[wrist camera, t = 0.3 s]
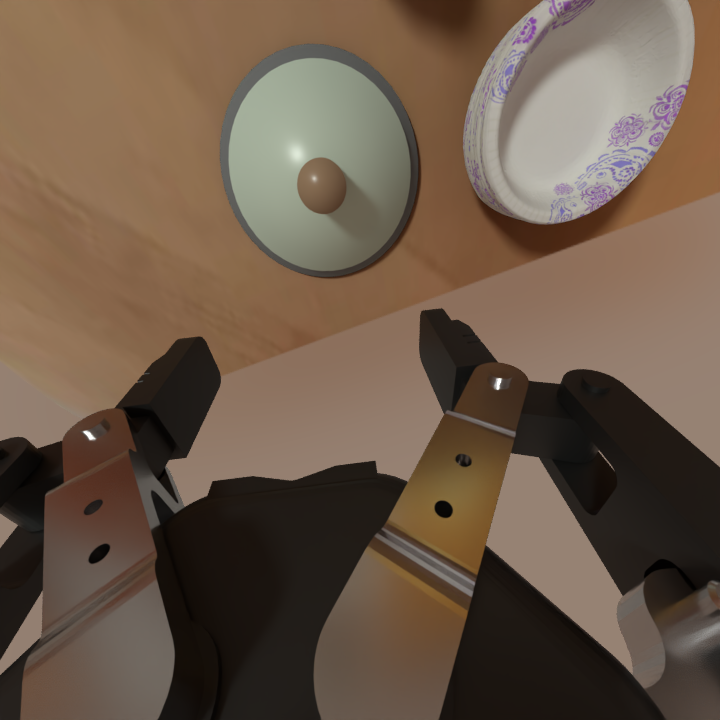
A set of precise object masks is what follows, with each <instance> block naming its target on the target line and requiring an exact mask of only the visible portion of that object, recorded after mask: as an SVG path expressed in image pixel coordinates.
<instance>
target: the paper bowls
mask: <svg viewBox="0 0 720 720" xmlns="http://www.w3.org/2000/svg"><path fill="white" fill-rule="evenodd" d="M694 42H695V40H694V21H693V16H692V12H691V7H690V5H689V2H688V0H544V1H542V2H541V3H540V4H539V5H537V6H536V7H535V8H533V9H532V10H531V11H530V12H528V13H527V15H525V16H524V17H523V18H522V19H521V20H520V21H519V22H518V23H517V24H516V25H515V26H514V27H513V28H512V29H511V30H510V31H509V32H508V33H507V34H506V36H505V37H504V38H503V39H502V40H501V42H500V43H499V44H498V46H497V47H496V48H495V50H494V51H493V53H492V55H491V56H490V58H489V59H488V61H487V63H486V65H485V67H484V68H483V70H482V73H481V75H480V77H479V79H478V81H477V84H476V86H475V88H474V91H473V93H472V96H471V99H470V103H469V106H468V111H467V115H466V120H465V125H464V136H463V144H464V145H463V150H464V158H465V165H466V169H467V173H468V176H469V179H470V181H471V184H472V186H473V188H474V190H475V192H476V193H477V195H478V197H479V198H480V199H481V200H482V201H483V202H484V203H485V204H486V205H488V206H489V207H490V208H492V209H493V210H495V211H497V212H499V213H501V214H504V215H506V216H509V217H512V218H515V219H518V220H523V221H526V222H529V223H535V224H545V225H548V224H557V223H563V222H567V221H571V220H574V219H577V218H580V217H582V216H584V215H587V214H589V213H591V212H593V211H595V210H596V209H598V208H600V207H601V206H603V205H604V204H606V203H607V202H609V201H610V200H611V199H613V198H614V197H615V196H616V195H618V194H619V193H620V192H621V191H622V190H623V189H625V188H626V187H627V186H628V185H629V184H630V183H631V182H632V181H633V180H634V179H635V178H636V177H637V176H638V174H639V173H640V172H641V171H642V170H643V169H644V168H645V166H646V165H647V164H648V163H649V161H650V160H651V159H652V157H653V156H654V155H655V153H656V152H657V150H658V149H659V147H660V146H661V144H662V143H663V141H664V139H665V137H666V136H667V134H668V132H669V130H670V128H671V126H672V125H673V123H674V121H675V119H676V116H677V114H678V112H679V110H680V108H681V104H682V102H683V100H684V97H685V94H686V90H687V87H688V83H689V80H690V76H691V71H692V66H693V57H694Z"/></svg>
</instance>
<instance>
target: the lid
mask: <svg viewBox="0 0 720 720" xmlns="http://www.w3.org/2000/svg"><path fill="white" fill-rule="evenodd" d="M229 172H230V179H231V184H232V189H233V192H234V195H235V198H236V201H237V204H238V206H239V208H240V210H241V213H242V215H243V217H244V218H245V220H246V222H247V223H248V225H249V227H250V228H251V229H252V231H253V232H254V233H255V235H256V236H257V237H258V238H259V239H260V240H261V241H262V243H263V244H264V245H265V246H267V247H268V248H269V249H270V250H271V251H272V252H273V253H275V254H276V255H278V256H279V257H281V258H282V259H284V260H286V261H288V262H290V263H292V264H294V265H297V266H300V267H302V268H306V269H310V270H317V271H335V270H342V269H345V268H349V267H352V266H354V265H357V264H359V263H361V262H363V261H365V260H366V259H368V258H370V257H371V256H372V255H373V254H375V253H376V252H377V251H378V250H379V249H380V248H381V247H382V246H383V245H384V244H385V243H386V242H387V241H388V240H389V238H390V237H391V236H392V234H393V233H394V231H395V229H396V228H397V226H398V224H399V222H400V220H401V217H402V215H403V213H404V210H405V206H406V203H407V199H408V194H409V189H410V178H411V169H410V156H409V148H408V144H407V140H406V136H405V133H404V130H403V128H402V125H401V122H400V120H399V118H398V116H397V114H396V112H395V110H394V108H393V107H392V105H391V104H390V102H389V101H388V100H387V98H386V97H385V95H384V94H383V93H382V92H381V91H380V90H379V89H378V87H377V86H376V85H375V84H374V83H373V82H371V81H370V80H369V79H368V78H367V77H365V76H364V75H363V74H361V73H360V72H358V71H356V70H355V69H353V68H351V67H349V66H347V65H344V64H342V63H339V62H337V61H332V60H328V59H322V58H306V59H299V60H294V61H291V62H288V63H285V64H282V65H280V66H279V67H277V68H275V69H273V70H271V71H270V72H268V73H267V74H266V75H265V76H264V77H262V78H261V79H260V80H259V81H258V82H257V83H256V84H255V85H254V86H253V88H252V89H251V90H250V91H249V92H248V94H247V95H246V97H245V99H244V100H243V102H242V103H241V105H240V108H239V110H238V112H237V115H236V117H235V120H234V124H233V127H232V131H231V136H230V143H229Z"/></svg>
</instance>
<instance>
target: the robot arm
mask: <svg viewBox="0 0 720 720" xmlns="http://www.w3.org/2000/svg"><path fill="white" fill-rule="evenodd" d="M419 341H420V342H419V351H420V358H421V362H422V364H423V367H424V369H425V371H426V373H427V376H428V378H429V380H430V383H431V385H432V387H433V390H434V392H435V394H436V396H437V399H438V401H439V403H440V406H441V408H442V411H443V413H444V416H443V418H442V419H441V421H440V423H439V425H438V427H437V429H436V431H435V433H434V435H433V437H432V438H431V440H430V442H429V444H428V446H427V447H426V449H425V451H424V453H423V455H422V457H421V459H420V460H419V462H418V464H417V466H416V468H415V470H414V472H413V474H412V476H411V477H410V479H409V481H408V482H407V481H405V480H402V479H400V478H397V477H395V476H390V475H387V474H380V473H377V469H376V462H375V461H369V462H362V463H354V464H346V465H338V466H334V467H331V468H328V469H325V470H323V471H320V472H317V473H314V474H312V475H309V476H306V477H303V478H300V479H298V480H293V481H289V480H280V479H272V478H264V477H255V476H251V477H243V478H235V479H227V480H219V481H213V482H212V484H211V487H210V490H209V493H208V496H206V497H204V498H201V499H199V500H197V501H195V502H193V503H192V504H189V505H188V506H186V507H184V505H183V502H182V499H181V497H180V495H179V492H178V490H177V487H176V485H175V482H174V480H173V477H172V475H171V473H170V471H169V470H168V468H167V467H166V464H167V462H168V461H169V460H172V459H180V458H186V457H187V455H188V453H189V451H190V449H191V447H192V444H193V442H194V440H195V438H196V436H197V434H198V432H199V430H200V427H201V425H202V423H203V421H204V419H205V417H206V415H207V412H208V411H209V408H210V406H211V404H212V402H213V400H214V398H215V396H216V393H217V391H218V389H219V387H220V383H221V376H220V372H219V369H218V367H217V365H216V363H215V360H214V358H213V356H212V354H211V352H210V350H209V347H208V345H207V343H206V341H205V340H204V339H203V338H202V337H191V338H183V339H178V340H176V341H175V343H174V344H173V345H172V346H171V348H170V349H169V350H168V351H167V352H166V354H165V355H163V356H162V357H160V358H159V359H158V360H156V361H155V362H153V363H152V364H151V365H150V367H149V368H148V369H147V370H146V371H145V373H144V375H142V376H141V377H140V378H139V380H138V383H135V384H134V386H133V387H132V388H131V389H130V390H129V392H128V393H127V394H126V395H125V396H124V397H123V399H122V400H121V401H120V402H119V403H118V405H117V406H116V407H115V408H112V409H106V410H102V411H99V412H96V413H94V414H91V415H89V416H87V417H86V418H84V419H82V420H81V421H79V422H78V423H76V424H75V425H74V426H72V428H70V430H68V431H67V433H66V434H65V436H64V437H63V440H62V441H60V442H56V443H54V444H50V445H47V446H44V447H41V448H38V449H37V448H36V447H35V446H34V445H32V444H31V443H30V442H29V441H28V440H27V439H25V438H23V437H14V438H9V439H6V440H2V441H0V514H2V515H3V516H5V517H6V518H8V519H9V520H11V521H13V522H14V523H16V524H17V525H18V526H17V528H16V529H15V530H14V531H13V533H12V534H11V535H10V536H9V538H8V539H7V540H6V542H5V543H4V544H3V545H2V547H1V548H0V659H1V658H2V656H3V654H4V653H5V651H6V649H7V648H8V646H9V644H10V643H11V641H12V640H13V638H14V636H15V635H16V633H17V631H18V630H19V628H20V626H21V625H22V623H23V622H24V620H25V618H26V617H27V615H28V613H29V612H30V610H31V608H32V607H33V605H34V604H35V602H36V600H37V599H38V597H39V595H40V594H41V592H42V590H43V606H42V634H41V638H40V639H38V640H37V641H36V642H35V643H34V644H33V645H32V646H31V647H30V648H29V649H28V650H27V651H26V652H25V653H23V654H22V655H21V656H20V657H19V658H18V659H17V660H16V661H15V662H14V663H13V664H12V665H11V666H10V667H9V668H7V669H6V670H5V671H4V672H3V673H2V674H1V675H0V720H720V467H719V466H718V465H717V464H715V463H714V462H713V461H712V460H711V459H710V458H708V457H707V456H706V455H705V454H704V453H703V452H701V451H700V450H699V449H698V448H697V447H696V446H694V445H693V444H692V443H691V442H690V441H689V440H688V439H686V438H685V437H684V436H683V435H682V434H681V433H680V432H678V431H677V430H676V429H675V428H674V427H672V426H671V425H670V424H669V423H668V422H667V421H665V420H664V419H663V418H662V417H661V416H660V415H659V414H658V413H656V412H655V411H654V410H653V409H652V408H651V407H649V406H648V405H647V404H646V403H645V402H643V401H642V400H641V399H640V398H639V397H638V396H637V395H636V394H634V393H633V392H632V391H631V390H630V389H629V388H627V387H626V386H625V385H624V384H623V383H621V382H620V381H618V380H617V379H615V378H614V377H611V376H610V375H607V374H604V373H601V372H598V371H593V370H586V369H579V370H578V369H577V370H572V371H569V372H567V373H566V374H565V375H564V376H563V379H562V381H561V384H554V383H543V382H533V381H528V378H527V376H526V375H525V374H524V373H523V372H522V371H521V370H519V369H518V368H516V367H514V366H511V365H508V364H504V363H498V362H497V360H496V359H495V358H494V357H493V356H492V354H491V353H490V352H489V350H488V349H487V348H486V347H485V345H484V344H483V343H482V342H481V341H480V339H479V338H478V337H477V335H475V333H474V332H473V330H472V329H471V328H470V327H469V326H468V325H466V324H465V323H463V322H461V321H459V320H451V319H450V318H449V316H448V315H447V314H446V312H445V311H444V310H443V309H442V308H441V309H432V310H425V311H422V312H421V315H420V339H419ZM599 450H600V452H601V453H602V454H603V455H604V457H605V458H606V459H607V460H608V461H609V463H610V464H611V465H612V467H613V468H614V470H613V469H612V468H611V466H610V465H609V464H608V463H607V461H606V460H605V459H604V458H603V457H602V455H601V454H600V453H599V452H598V451H599ZM511 453H514V454H521V455H528V456H534V457H539V458H540V460H541V462H542V463H543V465H544V467H545V468H546V470H547V472H548V473H549V475H550V477H551V478H552V480H553V481H554V483H555V485H556V486H557V488H558V489H559V491H560V493H561V495H562V496H563V498H564V500H565V501H566V503H567V505H568V506H569V508H570V509H571V511H572V513H573V514H574V516H575V518H576V519H577V521H578V523H579V524H580V526H581V527H582V529H583V531H584V533H585V534H586V536H587V537H588V539H589V541H590V542H591V544H592V546H593V547H594V549H595V551H596V552H597V554H598V556H599V557H600V559H601V561H602V562H603V564H604V566H605V567H606V569H607V570H608V572H609V574H610V575H611V577H612V579H613V580H614V582H615V584H616V585H617V587H618V589H619V590H620V592H621V594H622V595H623V597H622V598H621V599H620V601H619V603H618V606H617V619H618V624H619V627H620V630H621V633H622V635H623V637H624V639H625V642H626V644H627V648H628V650H629V652H630V655H631V659H632V665H633V675H632V674H631V673H630V672H629V671H628V670H627V669H626V668H625V667H624V665H622V664H621V663H620V662H619V661H618V660H617V659H616V658H615V657H614V656H613V655H612V654H611V653H610V652H609V651H607V650H606V649H605V648H604V647H603V646H601V644H599V643H598V642H597V641H596V640H595V639H594V638H592V637H591V636H590V635H589V634H588V633H587V632H585V631H584V630H583V629H582V628H581V627H580V626H579V625H577V624H576V623H575V622H574V621H573V620H572V619H570V618H569V617H568V616H567V615H566V614H565V613H564V612H562V611H561V610H560V609H559V608H558V607H557V606H556V605H554V604H553V603H552V602H551V601H550V600H549V599H547V598H546V597H545V596H544V595H543V594H542V593H541V592H539V591H538V590H537V589H536V588H535V587H534V586H532V585H531V584H530V583H529V582H528V581H527V580H525V579H524V578H523V577H522V576H521V575H520V574H519V573H517V572H516V571H515V570H514V569H513V568H512V567H510V566H509V565H508V564H507V563H506V562H505V561H504V560H502V559H501V558H500V557H499V556H498V555H497V554H495V553H494V552H493V551H492V550H491V549H490V548H489V547H487V546H486V542H487V538H488V534H489V530H490V527H491V523H492V520H493V516H494V512H495V509H496V505H497V501H498V497H499V494H500V490H501V487H502V483H503V479H504V476H505V472H506V468H507V464H508V461H509V457H510V454H511Z"/></svg>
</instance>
